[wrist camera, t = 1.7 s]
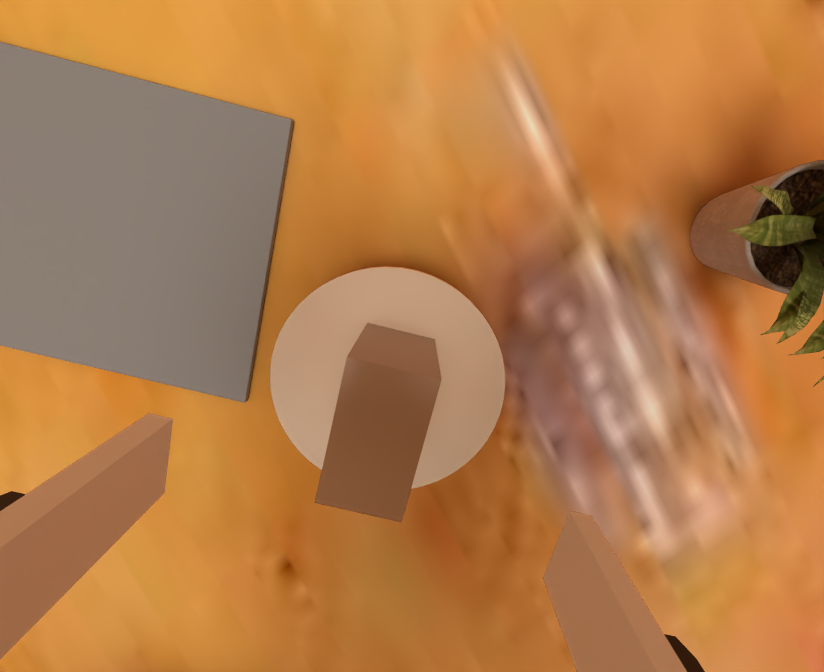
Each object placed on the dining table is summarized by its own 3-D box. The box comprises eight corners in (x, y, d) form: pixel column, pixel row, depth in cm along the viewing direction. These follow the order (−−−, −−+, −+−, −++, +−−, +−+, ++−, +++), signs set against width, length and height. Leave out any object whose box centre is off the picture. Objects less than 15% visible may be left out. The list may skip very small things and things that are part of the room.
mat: (248, 399, 31) (244, 402, 31) (-18, 337, 31) (-27, 339, 30) (294, 121, 27) (291, 119, 26) (-17, 39, 26) (-26, 35, 25)
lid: (466, 500, 27) (486, 607, 20) (260, 453, 27) (194, 543, 19) (530, 298, 24) (585, 327, 16) (298, 240, 24) (238, 240, 16)
